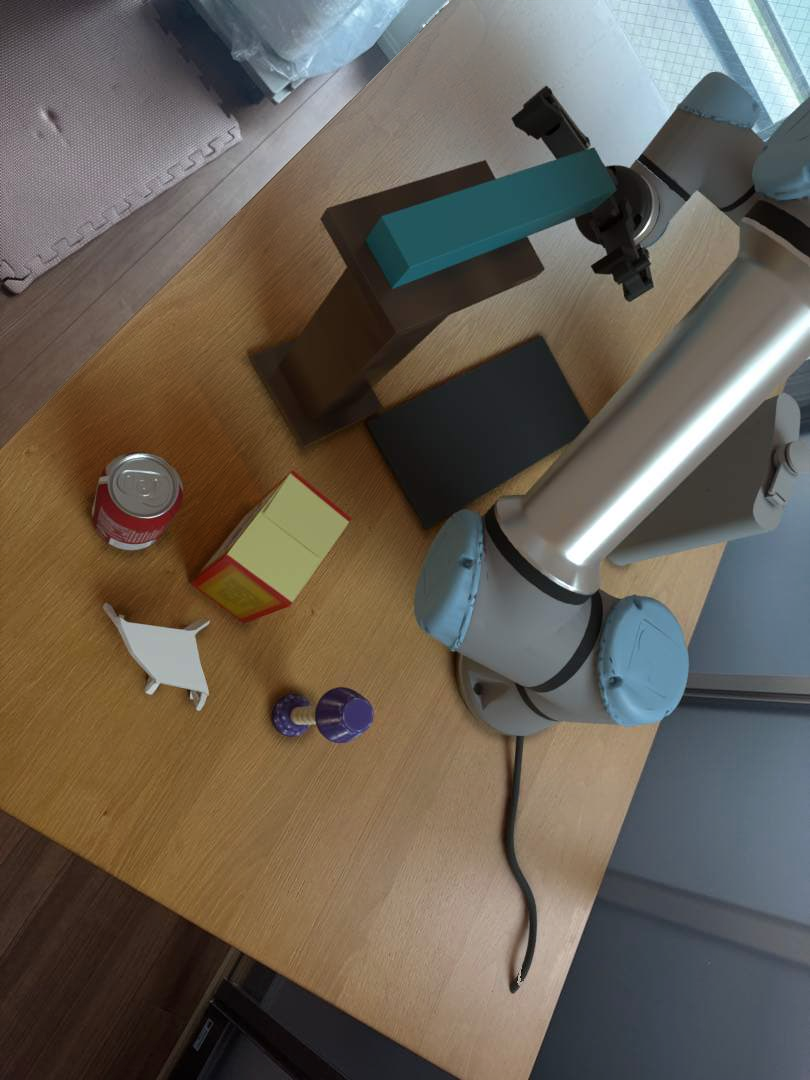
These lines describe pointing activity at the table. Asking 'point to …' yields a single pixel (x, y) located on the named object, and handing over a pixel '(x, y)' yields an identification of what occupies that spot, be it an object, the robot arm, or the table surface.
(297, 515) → the baking soda box
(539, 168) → the block
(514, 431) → the mat
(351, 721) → the toy lamp
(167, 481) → the soda can
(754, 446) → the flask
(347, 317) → the stand
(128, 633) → the white flat legged piece
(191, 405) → the table surface
